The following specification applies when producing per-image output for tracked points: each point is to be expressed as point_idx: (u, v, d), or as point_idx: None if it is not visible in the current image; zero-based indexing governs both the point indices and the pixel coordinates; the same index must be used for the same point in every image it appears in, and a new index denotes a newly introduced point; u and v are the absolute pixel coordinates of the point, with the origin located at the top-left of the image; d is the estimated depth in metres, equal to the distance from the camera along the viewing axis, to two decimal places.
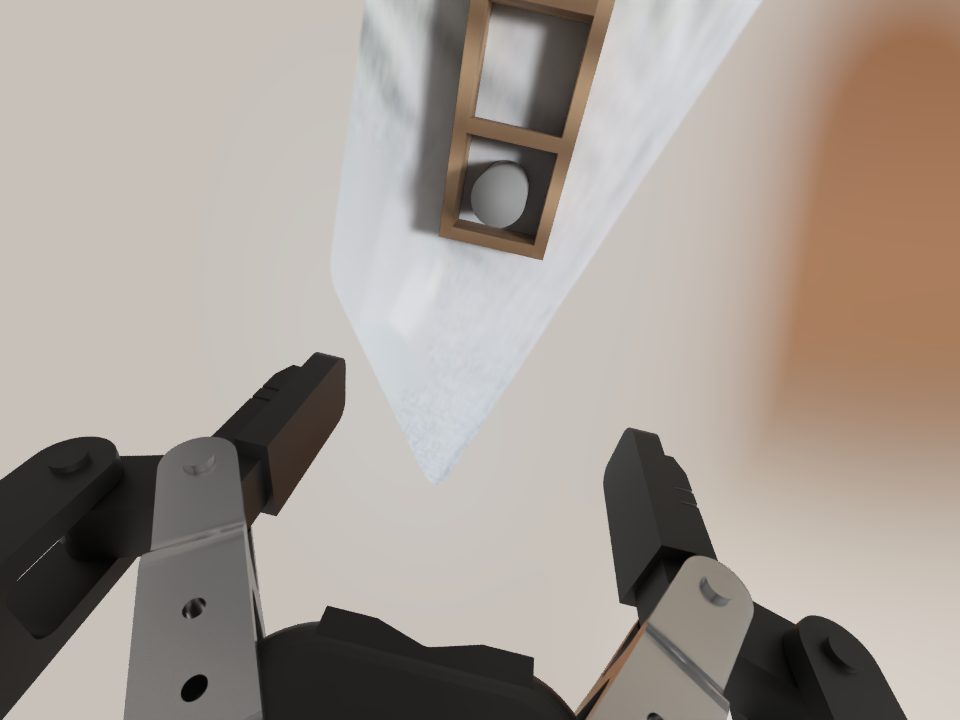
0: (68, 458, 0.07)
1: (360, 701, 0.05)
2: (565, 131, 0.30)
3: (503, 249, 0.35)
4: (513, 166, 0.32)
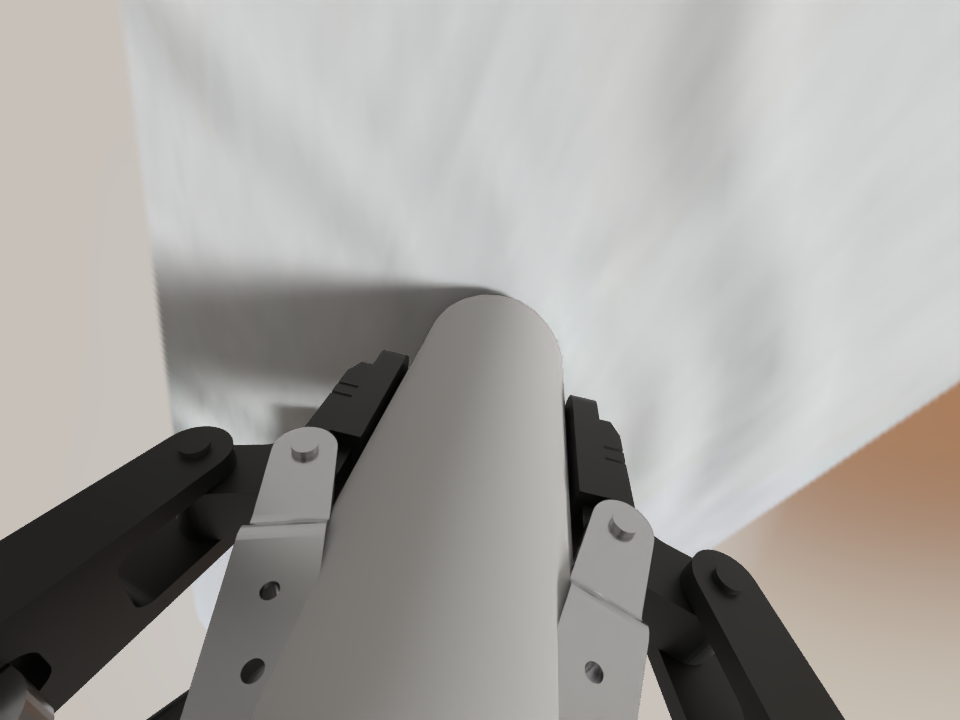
0: (194, 445, 0.07)
1: None
2: None
3: None
4: None
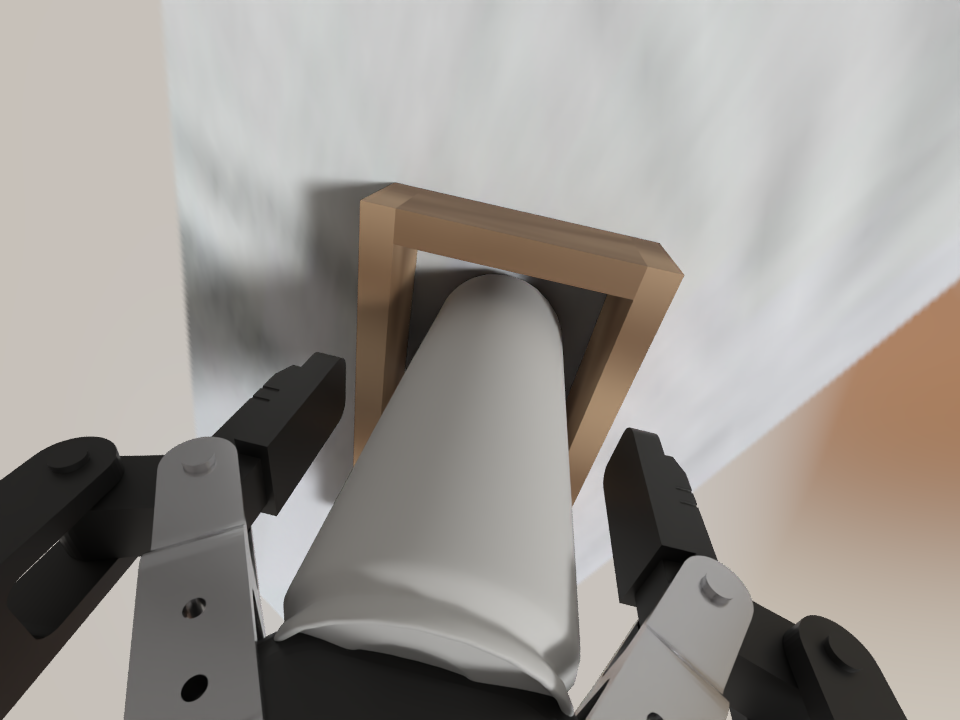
0: (69, 457, 0.07)
1: (360, 701, 0.05)
2: None
3: None
4: None
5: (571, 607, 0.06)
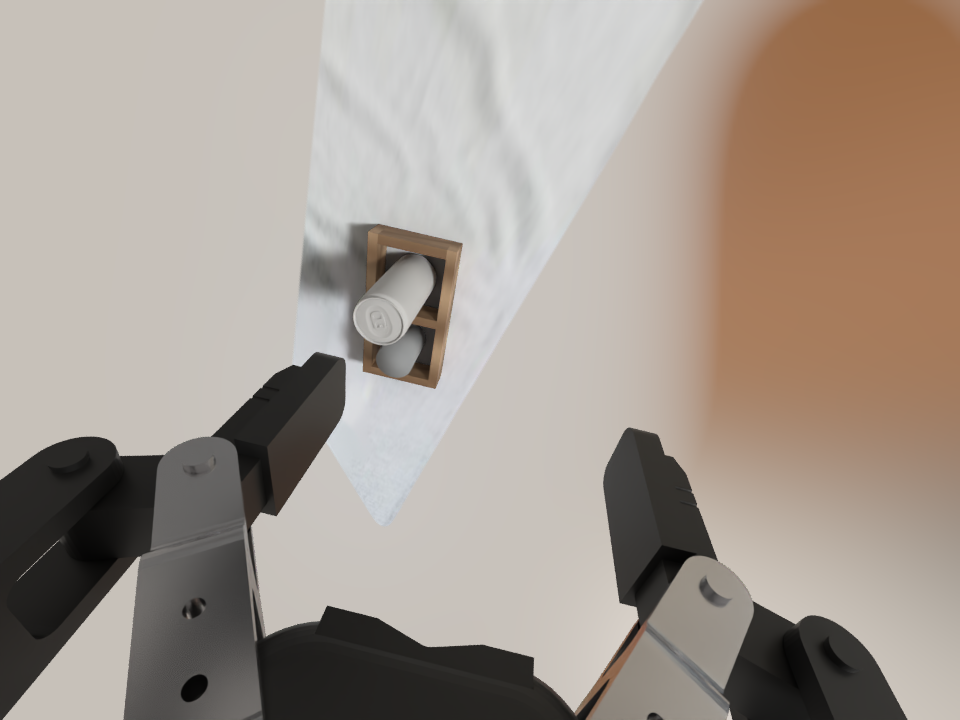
0: (68, 457, 0.07)
1: (360, 701, 0.05)
2: (438, 317, 0.44)
3: (407, 381, 0.50)
4: (408, 333, 0.46)
5: (406, 307, 0.35)
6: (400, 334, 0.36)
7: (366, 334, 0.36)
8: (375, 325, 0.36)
